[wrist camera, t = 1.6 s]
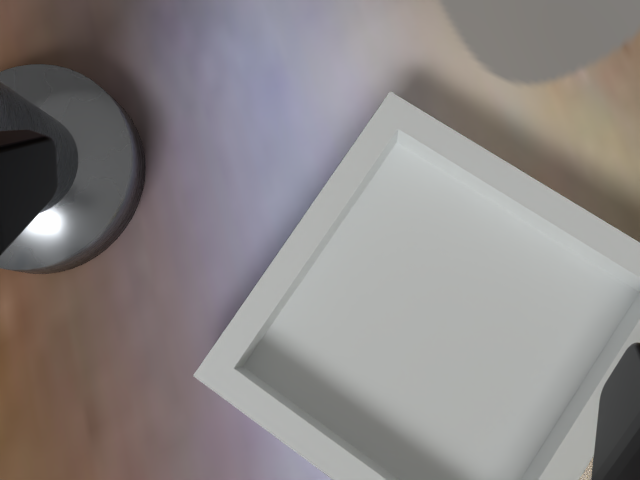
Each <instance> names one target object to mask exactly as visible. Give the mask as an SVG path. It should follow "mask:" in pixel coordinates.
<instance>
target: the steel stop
mask: <svg viewBox="0 0 640 480" xmlns="http://www.w3.org/2000/svg"><path fill="white" fill-rule="evenodd" d="M11 130H32V131H35V132H38V133H41V134H44V135H47V136H49V137H51V138H52V139H53V140H54V142H55V144H56V148H57V170H58V187H57V191H56V194H55V195H54V197H53V199H52V200H51V201H50V202H49V203H48V204H47V205H46V206H45V208H44V209H43V210H42V211H41V212H40V213H39V214H38V215H37V216H36V217H35V219H34V220H33V221H32V222H31V223H30V224H29V225H28V226H27V227H26V228H25V230H24V231H23V232H22V233H21V234H20V235H19V236H18V237H17V238H16V239H15V240H14V242H13V243H12V244H11V245H10V246H9V247H8V248H7V249H6V250H5V251H4V253H3V254H2V255H1V256H0V268H2V269H8V270H13V271H18V272H25V273H32V274H49V273H56V272H62V271H65V270H69V269H72V268H75V267H77V266H80V265H82V264H84V263H86V262H88V261H90V260H91V259H93V258H95V257H96V256H98V255H99V254H100V253H102V252H103V251H104V250H106V249H107V248H108V247H109V246H110V245H111V244H112V243H113V242H114V241H115V240H116V239H117V238H118V237H119V236H120V234H121V233H122V232H123V231H124V230H125V228H126V227H127V225H128V223H129V222H130V220H131V219H132V217H133V215H134V213H135V210H136V208H137V206H138V203H139V200H140V197H141V194H142V190H143V185H144V178H145V158H144V151H143V146H142V142H141V139H140V136H139V133H138V131H137V129H136V127H135V125H134V123H133V121H132V119H131V118H130V117H129V115H128V114H127V113H126V111H125V110H124V109H123V108H122V107H121V106H120V105H119V104H118V103H117V102H116V101H115V100H114V99H113V98H112V97H111V96H110V95H109V94H107V93H106V92H105V91H104V90H103V89H102V88H101V87H100V86H98V85H97V84H96V83H94V82H93V81H92V80H91V79H89V78H87V77H85V76H84V75H82V74H80V73H78V72H75V71H73V70H70V69H68V68H64V67H59V66H55V65H45V64H35V65H25V66H18V67H14V68H11V69H7V70H4V71H2V72H0V131H11Z"/></svg>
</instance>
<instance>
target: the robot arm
mask: <svg viewBox="0 0 640 480" xmlns="http://www.w3.org/2000/svg"><path fill="white" fill-rule="evenodd" d="M57 187H58V170H57V148H56V144H55V142H54V140H53V139H52V138H51V137H49V136H47V135H44V134H41V133H38V132H35V131H32V130H11V131H0V256H1V255H2V254H3V253H4V251H5V250H6V249H7V248H8V247H9V246H10V245H11V244H12V243H13V242H14V240H15V239H16V238H17V237H18V236H19V235H20V234H21V233H22V232H23V231H24V230H25V228H26V227H27V226H28V225H29V224H30V223H31V222H32V221H33V220H34V219H35V217H36V216H37V215H38V214H39V213H40V212H41V211H42V210H43V209H44V208H45V206H46V205H47V204H48V203H49V202H50V201H51V200H52V199H53V197H54V195H55V194H56V191H57ZM591 480H640V343H639V342H636V343H633V344H631V345H630V346H629V347H628V348H627V350H626V351H625V353H624V354H623V356H622V357H621V359H620V360H619V362H618V364H617V365H616V367H615V368H614V370H613V372H612V373H611V375H610V376H609V378H608V379H607V381H606V383H605V384H604V387H603V389H602V392H601V395H600V400H599V410H598V419H597V429H596V439H595V448H594V458H593V468H592V478H591Z"/></svg>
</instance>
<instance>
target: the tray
mask: <svg viewBox="0 0 640 480" xmlns="http://www.w3.org/2000/svg"><path fill="white" fill-rule="evenodd" d="M636 342H639V343H640V242H638V241H636V240H635V239H633V238H631V237H630V236H628V235H626V234H625V233H623V232H621V231H620V230H618V229H617V228H615V227H613V226H612V225H610V224H608V223H607V222H605V221H603V220H602V219H600V218H598V217H597V216H595V215H593V214H592V213H590V212H588V211H587V210H585V209H584V208H582V207H580V206H579V205H577V204H575V203H574V202H572V201H570V200H569V199H567V198H565V197H564V196H562V195H560V194H559V193H557V192H555V191H554V190H552V189H551V188H549V187H547V186H546V185H544V184H542V183H541V182H539V181H537V180H536V179H534V178H532V177H531V176H529V175H527V174H526V173H524V172H523V171H521V170H519V169H518V168H516V167H514V166H513V165H511V164H509V163H508V162H506V161H504V160H503V159H501V158H499V157H498V156H496V155H494V154H493V153H491V152H490V151H488V150H486V149H485V148H483V147H481V146H480V145H478V144H476V143H475V142H473V141H471V140H470V139H468V138H466V137H465V136H463V135H461V134H460V133H458V132H457V131H455V130H453V129H452V128H450V127H448V126H447V125H445V124H443V123H442V122H440V121H438V120H437V119H435V118H433V117H432V116H430V115H428V114H427V113H425V112H424V111H422V110H420V109H419V108H417V107H415V106H414V105H412V104H410V103H409V102H407V101H405V100H404V99H402V98H400V97H399V96H397V95H396V94H394V93H392V92H391V91H390V92H389V94H388V95H387V97H386V98H385V99H384V101H383V102H382V104H381V105H380V107H379V108H378V110H377V111H376V112H375V114H374V115H373V117H372V118H371V120H370V121H369V123H368V124H367V125H366V127H365V128H364V130H363V131H362V133H361V134H360V136H359V137H358V138H357V140H356V141H355V143H354V144H353V146H352V147H351V148H350V150H349V151H348V153H347V154H346V156H345V157H344V159H343V160H342V161H341V163H340V164H339V166H338V167H337V169H336V170H335V172H334V173H333V174H332V176H331V177H330V179H329V180H328V182H327V183H326V185H325V186H324V187H323V189H322V190H321V192H320V193H319V195H318V196H317V198H316V199H315V200H314V202H313V203H312V205H311V206H310V208H309V209H308V211H307V212H306V213H305V215H304V216H303V218H302V219H301V221H300V222H299V224H298V225H297V226H296V228H295V229H294V231H293V232H292V234H291V235H290V237H289V238H288V239H287V241H286V242H285V244H284V245H283V247H282V248H281V250H280V251H279V252H278V254H277V255H276V257H275V258H274V260H273V261H272V263H271V264H270V265H269V267H268V268H267V270H266V271H265V273H264V274H263V276H262V277H261V278H260V280H259V281H258V283H257V284H256V286H255V287H254V289H253V290H252V291H251V293H250V294H249V296H248V297H247V299H246V300H245V302H244V303H243V304H242V306H241V307H240V309H239V310H238V312H237V313H236V315H235V316H234V317H233V319H232V320H231V322H230V323H229V325H228V326H227V328H226V329H225V330H224V332H223V333H222V335H221V336H220V338H219V339H218V341H217V342H216V343H215V345H214V346H213V348H212V349H211V351H210V352H209V354H208V355H207V356H206V358H205V359H204V361H203V362H202V364H201V365H200V367H199V368H198V369H197V371H196V372H195V374H194V375H193V376H194V377H195V378H197V379H198V380H200V381H201V382H202V383H204V384H205V385H206V386H208V387H209V388H210V389H212V390H213V391H214V392H216V393H217V394H218V395H220V396H221V397H222V398H224V399H225V400H226V401H228V402H229V403H230V404H232V405H233V406H234V407H236V408H237V409H239V410H240V411H241V412H243V413H244V414H245V415H247V416H248V417H249V418H251V419H252V420H253V421H255V422H256V423H257V424H259V425H260V426H261V427H263V428H264V429H265V430H267V431H268V432H269V433H271V434H272V435H273V436H275V437H276V438H278V439H279V440H280V441H282V442H283V443H284V444H286V445H287V446H288V447H290V448H291V449H292V450H294V451H295V452H296V453H298V454H299V455H300V456H302V457H303V458H304V459H306V460H307V461H308V462H310V463H311V464H312V465H314V466H315V467H317V468H318V469H319V470H321V471H322V472H323V473H325V474H326V475H327V476H329V477H330V478H331V479H333V480H579V479H580V477H581V475H582V474H583V472H584V471H585V469H586V467H587V466H588V464H589V463H590V461H591V459H592V458H593V456H594V448H595V439H596V429H597V419H598V410H599V400H600V395H601V392H602V389H603V387H604V384H605V383H606V381H607V379H608V378H609V376H610V375H611V373H612V372H613V370H614V368H615V367H616V365H617V364H618V362H619V360H620V359H621V357H622V356H623V354H624V353H625V351H626V350H627V348H628V347H629V346H630V345H631V344H633V343H636Z"/></svg>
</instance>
